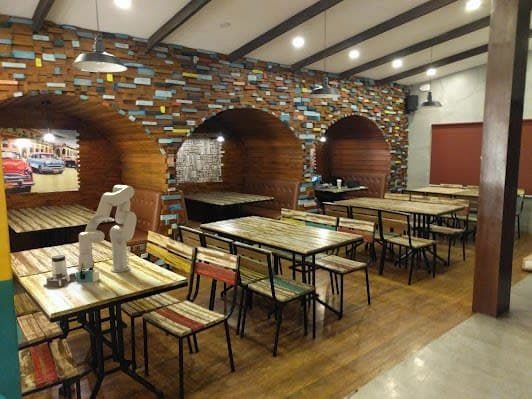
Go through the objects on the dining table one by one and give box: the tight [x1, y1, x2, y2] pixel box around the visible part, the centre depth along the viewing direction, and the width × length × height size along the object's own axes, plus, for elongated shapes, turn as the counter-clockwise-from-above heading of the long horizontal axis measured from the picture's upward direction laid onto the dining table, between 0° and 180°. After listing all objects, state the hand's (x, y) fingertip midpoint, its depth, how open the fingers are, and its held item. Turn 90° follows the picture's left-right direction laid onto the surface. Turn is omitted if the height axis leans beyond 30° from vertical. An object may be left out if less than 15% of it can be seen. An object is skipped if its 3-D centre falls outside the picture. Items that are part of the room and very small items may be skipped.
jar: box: [50, 254, 68, 276], centre depth 273 cm, size 9×8×12 cm
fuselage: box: [75, 269, 100, 283], centre depth 260 cm, size 13×5×6 cm, turn 84°
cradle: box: [43, 272, 76, 288], centre depth 257 cm, size 19×12×4 cm, turn 174°
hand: (87, 276), depth 260 cm, fingers open, 9 cm apart
